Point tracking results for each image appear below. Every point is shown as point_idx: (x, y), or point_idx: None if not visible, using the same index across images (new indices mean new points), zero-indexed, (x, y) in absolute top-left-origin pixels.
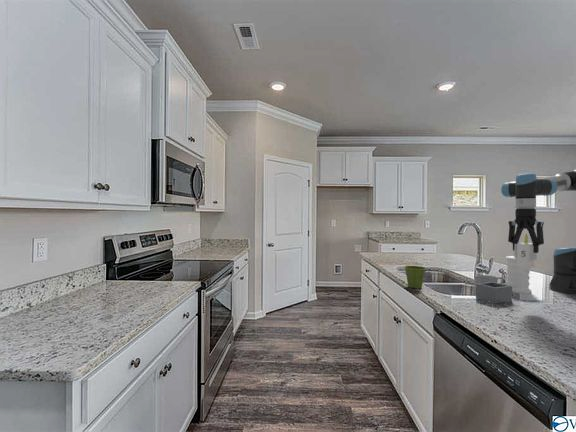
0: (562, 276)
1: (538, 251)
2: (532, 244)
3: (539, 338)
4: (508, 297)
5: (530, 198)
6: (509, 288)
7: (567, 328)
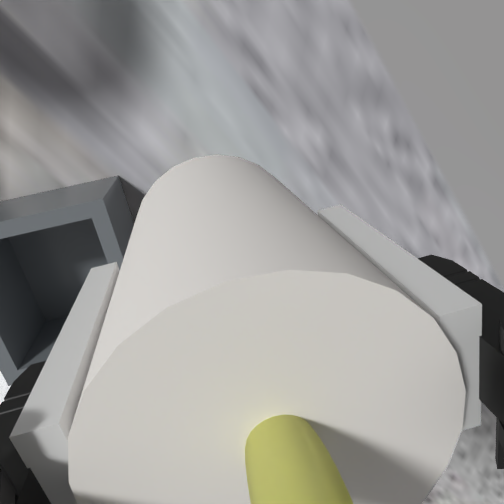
0: None
1: (454, 264)
2: (458, 410)
3: (494, 421)
4: (125, 213)
5: None
6: (114, 221)
7: (485, 277)
